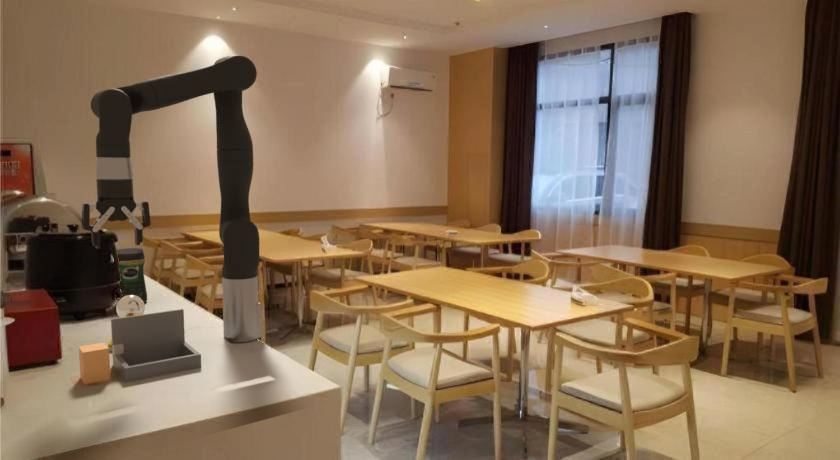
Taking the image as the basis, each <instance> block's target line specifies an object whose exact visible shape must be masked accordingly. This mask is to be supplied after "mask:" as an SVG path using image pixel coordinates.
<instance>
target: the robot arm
mask: <svg viewBox="0 0 840 460" xmlns="http://www.w3.org/2000/svg"><path fill="white" fill-rule="evenodd" d="M257 74H258V71H257V68H256V65H255V64H254V62H253V60H251V59H250V58H248V57H247V56H245V55H242V54H230V55H227V56H223V57H221V58H219V59H217V60H216V61H215V62H214V63H213V64H211V65H209V66H206V67H203V68H199V69H194V70H189V71H185V72H184V71H183V72H179V73H172V74H168V75H163V76H162V75H161V76H157V77H154V78H149V79H145V80H141V81H139V82H136V83H133V84H131V85H125V86H119V87H114V88H112V87H111V88H107V89H104V90H100V91H98V92H96V93H95V94H94V95H93V97H91V100H90V109H91V111H92V113H93V114H94V116H96V118H98V119H99V121H98V122H99V123H98V126H99V127H98V129H99V130H98V133H97V134H96V136H95V154H96V163H95V177H96V179H95V180H96V194H97V195H96V196H97V197H96V198H97V201H96V203H87V202H84V203H82V204H81V228H82V229H83V230H86V231H89V232H90V233H91V235H90V236H91V244H92V246H93V247H95V248H96V249H101V234H100V231H99V230H100V229H101V227H102V226H103V225H104V224H105V223H106V222H107V221H109V222H115V221H120V222H121V221H122V222H125V221H126V220H127V221H128V222H130V223H131V224H132V226H133V227H134V244H135V246H141V244H142V243H143V242H144V238H143V233H144V232H143V229H145V228H146V227H150V226H151V224H152V223H151V215H150V204H149V202H148V201H144V200H143V201H142V200H141V201H139V202H136V201H135V200H134V182H133V181H134V178H133V177H134V172H133V165H132V160H131V143H130V137H131V136H130V135H131V131H132V121H133V119H132V118H133V115H136V114H140V113H143V112H144V113H145V112H151V111H156V110H160V109H163V108H168V107H170V106H171V107H172V106H174V105H176V104H180V103H183V102H186V101H189V100H192V99H196V98H198V97H202V96H205V95H210V94H213V99H214V106H215V120H216V121H215V128H216V129H215V130H216V163H217V164H216V165H217V173H218V185H219V193H220V214H219V215H220V218H219V229H218V230H219V231H218V233H219V239H220V241H221V243H222V244H223V265H222V267H221V277H222V278H221V280H222V281H221V282H222V286H221V287H222V289H221V290H222V318H223V322H222V323H223V325H222V326H223V339H224V340H226V341H227V342H229V343H238V344H239V343H248V342H252V341H255V340H257V339H260V338H262V337H263V335H262V329H263V328H262V304H261V302H259V290H258V289H259V282H258V281H259V280H258V279H259V278H258V270H259V266H260V231H259V229H258V227H257V225H256V224H255V223H254V222H253V221H252V220H251V214H250V213H251V212H250V204H249V203H250V201H249V199H250V190H251V186H252V185H251V184H252V180H253V174H254V146H253V145H254V144H253V139H252V136H251V133H250V130H249V127H248V125H247V121H246V119H245V116H244V111H243V92H244V91H247V90H249V88H251V87H252V86H253V85H254V83H255V82H256V79H257ZM136 208H137V209H138V211H140V212H141V219H142V222H139V220H138V219H137V218H136V216H135V215H134V214H133V213H134V212H135V210H136ZM95 209H96V211H97V212H98V213H99V215H98V217H97V218H96V220H95V221H94V222H93V224H92V225H90V215H91V214H92V213H93V212H94V210H95Z"/></svg>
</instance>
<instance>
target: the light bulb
mask: <svg viewBox="0 0 840 460" xmlns="http://www.w3.org/2000/svg"><path fill="white" fill-rule="evenodd" d="M145 307H146V306H145V302H143V300H142V299H141V298H140V297H138V296H136V295H126V296H124V297H122V298H121V299H120V300H119V301H118V303H116V307H115V308H116V314H117V316H118V318H121V317H128V316H135V315H142V314H145Z"/></svg>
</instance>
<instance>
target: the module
mask: <svg viewBox="0 0 840 460" xmlns="http://www.w3.org/2000/svg"><path fill="white" fill-rule="evenodd" d="M78 357H79V373H80V374H79V376H80V377H81V379H82V381H83V383H84V385H85V384H90V383H95V382H100V381H105V380H110V370H111V365H110V362H111V361H110V360H111V359H110V351H109V348H108V344H106V343H105V342H100V343H98V342H97V343H92V344H87V345H81V346H78Z"/></svg>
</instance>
